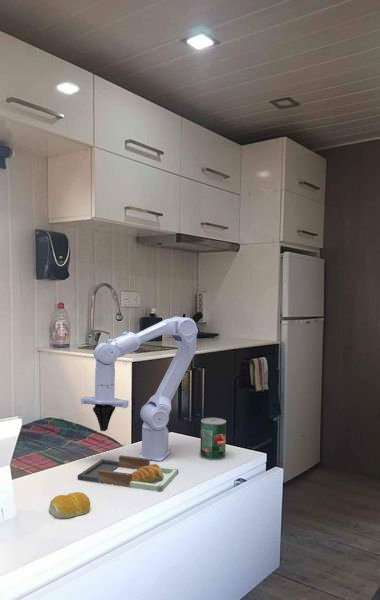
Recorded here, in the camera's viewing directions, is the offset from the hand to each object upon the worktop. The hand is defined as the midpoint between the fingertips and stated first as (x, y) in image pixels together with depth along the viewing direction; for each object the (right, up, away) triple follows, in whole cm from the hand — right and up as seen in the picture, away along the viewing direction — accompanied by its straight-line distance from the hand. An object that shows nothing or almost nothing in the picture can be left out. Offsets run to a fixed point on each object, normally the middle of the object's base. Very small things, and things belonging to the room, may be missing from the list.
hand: (103, 430), depth 146 cm
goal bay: (+16, -10, -13) cm, 23 cm away
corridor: (+8, -10, -11) cm, 16 cm away
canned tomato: (+32, -10, +8) cm, 35 cm away
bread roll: (-2, -10, -33) cm, 35 cm away
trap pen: (0, -9, -9) cm, 13 cm away
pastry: (+14, -10, -13) cm, 22 cm away
